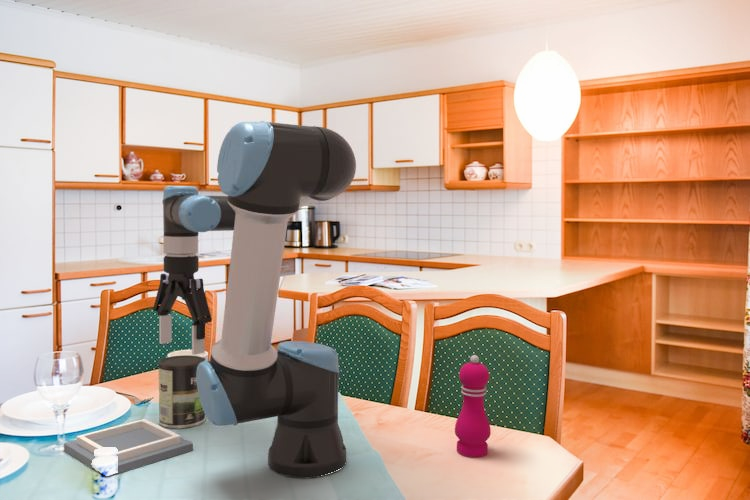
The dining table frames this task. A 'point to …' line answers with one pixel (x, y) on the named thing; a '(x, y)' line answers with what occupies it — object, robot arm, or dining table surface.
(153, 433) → the grey square tray
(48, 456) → the dining table surface
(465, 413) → the pepper mill
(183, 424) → the coffee can
